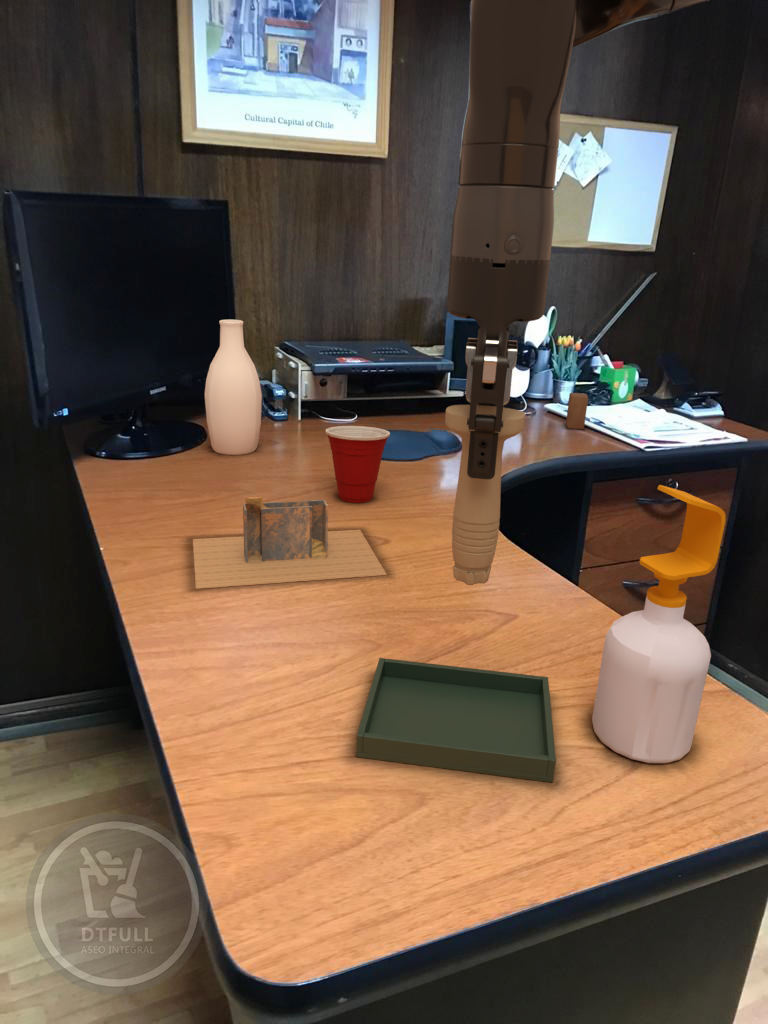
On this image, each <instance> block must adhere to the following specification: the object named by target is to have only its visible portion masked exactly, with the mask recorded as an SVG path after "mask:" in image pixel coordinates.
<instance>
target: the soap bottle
mask: <svg viewBox="0 0 768 1024" xmlns="http://www.w3.org/2000/svg"><path fill="white" fill-rule="evenodd" d="M656 490H658V491H660V492H662V493H665V494H667V495H669V496H672V497H673V498H675V499H677V500H680V501H682V502H684V503H686V512H685V518H684V521H683V528H682V534H681V538H680V542H679V544H678V546H677V548H676V549H675V551H671V552H667V553H660V554H652V555H646V556H641V557H640V558H639V565H640V566H642V567H643V568H646V569H647V570H649V571H650V572H652V573H653V576H654V578H655V579H657V580H659V581H658V585H653V586H650V587H649V588H648V589H647V592H646V597H645V601H644V608H643V609H642V610H636V611H631V612H630V613H627V614H624V615H622V616H620V617H619V618H617V619H615V620H614V621H613V623H611V625H610V627H609V629H608V630H607V632H606V634H605V636H604V643H603V649H602V655H601V661H600V667H599V672H598V673H599V674H598V680H597V686H596V692H595V699H594V703H593V704H594V705H593V710H592V717H591V722H592V727H593V731H594V734H595V735H596V736H597V738H598V739H599V740H600V741H601V743H602V744H604V745H605V746H606V747H607V748H609V749H611V750H612V751H613V752H615V753H617V754H619V755H621V756H623V757H626V758H628V759H630V760H634V761H637V762H638V761H639V762H641V763H642V762H643V763H647V764H669V763H672V762H676V761H679V760H681V759H683V757H685V756H686V755H687V754H688V753H689V752H690V751H691V749H692V745H693V740H694V735H695V732H696V727H697V723H698V717H699V713H700V708H701V704H702V699H703V695H704V690H705V685H706V681H707V677H708V673H709V672H708V671H709V667H710V662H711V658H712V653H711V648H710V644H709V642H708V640H707V638H706V636H705V635H704V634H703V633H702V632H701V631H700V630H699V629H698V627H696V626H695V625H694V624H692V623H691V621H688V620H687V619H685V618H684V615H685V609H686V605H687V600H688V597H687V594H686V593H684V592H683V591H682V590H680V589H679V588H680V585H683V584H686V582H687V581H688V578H694V577H700V576H706V575H708V574H710V573H711V572H712V571H713V570H714V568H715V567H716V565H717V562H718V559H719V553H720V549H721V544H722V540H723V535H724V530H725V525H726V520H727V519H726V517H727V515H726V513H725V510H723V509H722V508H721V507H719V506H717V505H715V504H713V503H710V502H709V501H707V500H704V499H701V498H700V497H697V496H695V495H693V494H691V493H688V492H686V491H683V490H680V489H676V488H673V487H669V486H665V485H662V484H659V485H658V486H657V489H656Z"/></svg>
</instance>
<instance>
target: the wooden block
mask: <svg viewBox="0 0 768 1024" xmlns="http://www.w3.org/2000/svg"><path fill="white" fill-rule="evenodd" d="M568 395H569V397H568V404H567V413H566V418H565V425H566V428H567V429H569V430H570V429H572V430H584V429H585V424H586V416H587V409H588V403H589V397H588V394H587V393H584V392H583V393H582V392H570V393H569V394H568Z"/></svg>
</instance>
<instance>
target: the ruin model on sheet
mask: <svg viewBox="0 0 768 1024" xmlns="http://www.w3.org/2000/svg"><path fill="white" fill-rule="evenodd" d="M263 498H264V496H262V495H260V496H256V497H255V496H252V497H248V496H246V498H245V499H244V503H242V522H243V524H242V525H243V535H242V536H225V537H209V538H207V537H206V538H193V539H192V548H193V565H194V576H195V577H194V579H195V580H194V582H195V589H196V590H198V589H211V588H226V587H238V586H239V587H241V586H252V585H253V586H254V585H265V584H266V585H268V584H279V583H280V584H281V583H293V582H307V581H321V580H323V581H324V580H334V579H335V580H336V579H350V578H363V577H376V576H387V575H388V574H387V573H386V571H385V569H384V567H383V566H382V564H381V563H380V561H379V559H378V557H377V556H376V554H375V552H374V550H373V549H372V548H371V546H370V544H369V542H368V541H367V539H366V537H365V536H364V533H363V532H362V531H361V529H347V530H331V531H330V530H329V505H328V502H327V500H326V499H310V500H290V501H267V502H264V499H263Z"/></svg>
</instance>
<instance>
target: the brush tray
mask: <svg viewBox="0 0 768 1024" xmlns="http://www.w3.org/2000/svg"><path fill="white" fill-rule="evenodd" d="M355 739H356V742H355V743H356V744H355V757H356V758H361V759H369V760H377V761H384V762H393V763H400V764H406V765H407V764H408V765H415V766H423V767H431V768H437V769H446V770H453V771H461V772H469V773H477V774H483V775H484V774H485V775H491V776H498V777H499V776H500V777H505V778H506V777H507V778H514V779H522V780H529V781H537V782H544V783H553V782H554V776H555V771H556V763H557V757H556V756H557V755H556V747H555V736H554V725H553V715H552V703H551V692H550V682H549V677H548V676H542V675H534V674H525V673H517V672H507V671H499V670H489V669H481V668H473V667H464V666H454V665H446V664H436V663H429V662H422V661H421V662H420V661H411V660H402V659H395V658H385V657H379V658H378V661H377V665H376V668H375V672H374V674H373V678H372V682H371V685H370V689H369V692H368V695H367V699H366V701H365V706H364V709H363V713H362V716H361V719H360V722H359V726H358V729H357V732H356V738H355Z"/></svg>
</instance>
